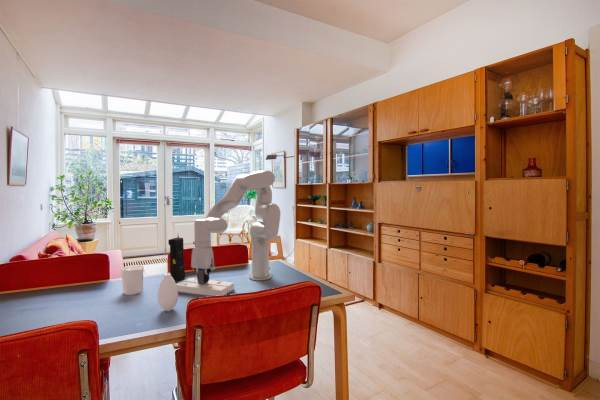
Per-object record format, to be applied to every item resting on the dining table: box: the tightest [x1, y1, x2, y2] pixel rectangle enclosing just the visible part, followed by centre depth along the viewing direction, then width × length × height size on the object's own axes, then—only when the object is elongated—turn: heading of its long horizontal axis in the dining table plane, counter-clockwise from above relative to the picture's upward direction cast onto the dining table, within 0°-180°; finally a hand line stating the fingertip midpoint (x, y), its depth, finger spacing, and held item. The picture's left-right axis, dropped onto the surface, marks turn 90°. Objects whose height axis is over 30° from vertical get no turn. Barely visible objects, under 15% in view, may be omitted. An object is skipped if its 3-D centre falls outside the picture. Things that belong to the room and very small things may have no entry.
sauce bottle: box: [157, 267, 179, 312], centre depth 131 cm, size 8×8×18 cm
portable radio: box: [167, 233, 186, 282], centre depth 173 cm, size 8×6×25 cm
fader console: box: [176, 277, 235, 298], centre depth 154 cm, size 12×26×4 cm, turn 72°
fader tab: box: [198, 269, 208, 285], centre depth 154 cm, size 4×3×10 cm
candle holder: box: [120, 264, 145, 296], centre depth 153 cm, size 10×10×12 cm
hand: (203, 281), depth 154 cm, fingers closed on fader tab, 3 cm apart
